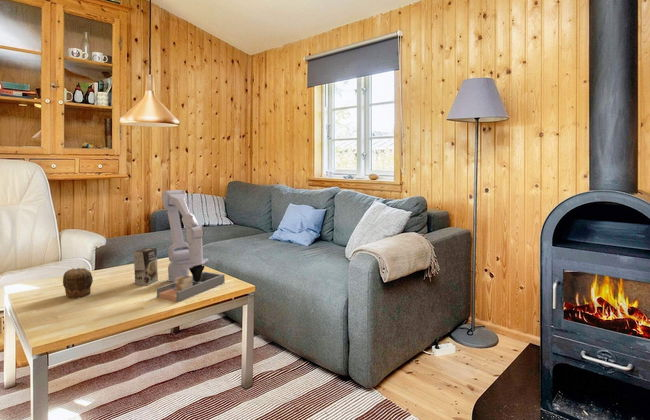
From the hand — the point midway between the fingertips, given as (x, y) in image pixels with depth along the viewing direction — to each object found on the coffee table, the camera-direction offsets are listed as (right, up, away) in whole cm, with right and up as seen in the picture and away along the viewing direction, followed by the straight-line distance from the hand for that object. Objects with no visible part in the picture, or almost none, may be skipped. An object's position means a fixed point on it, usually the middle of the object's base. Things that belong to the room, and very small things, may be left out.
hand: (197, 281), depth 186 cm
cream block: (-3, -2, -7) cm, 8 cm away
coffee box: (-26, -2, +8) cm, 28 cm away
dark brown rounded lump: (-47, -4, -11) cm, 49 cm away
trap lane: (-1, -3, -3) cm, 5 cm away
